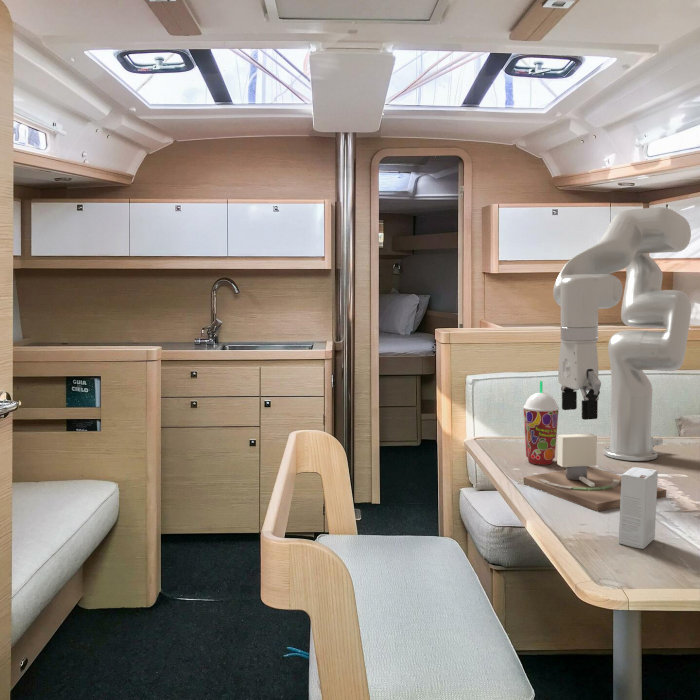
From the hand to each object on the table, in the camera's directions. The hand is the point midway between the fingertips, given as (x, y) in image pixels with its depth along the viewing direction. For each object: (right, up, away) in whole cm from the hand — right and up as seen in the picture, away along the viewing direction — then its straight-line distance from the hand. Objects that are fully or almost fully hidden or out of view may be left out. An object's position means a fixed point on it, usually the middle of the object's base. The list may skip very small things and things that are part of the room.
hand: (579, 414), depth 145 cm
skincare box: (-1, -19, -32) cm, 37 cm away
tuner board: (+2, -16, -3) cm, 16 cm away
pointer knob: (0, -14, -2) cm, 14 cm away
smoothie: (-2, -14, +21) cm, 25 cm away
